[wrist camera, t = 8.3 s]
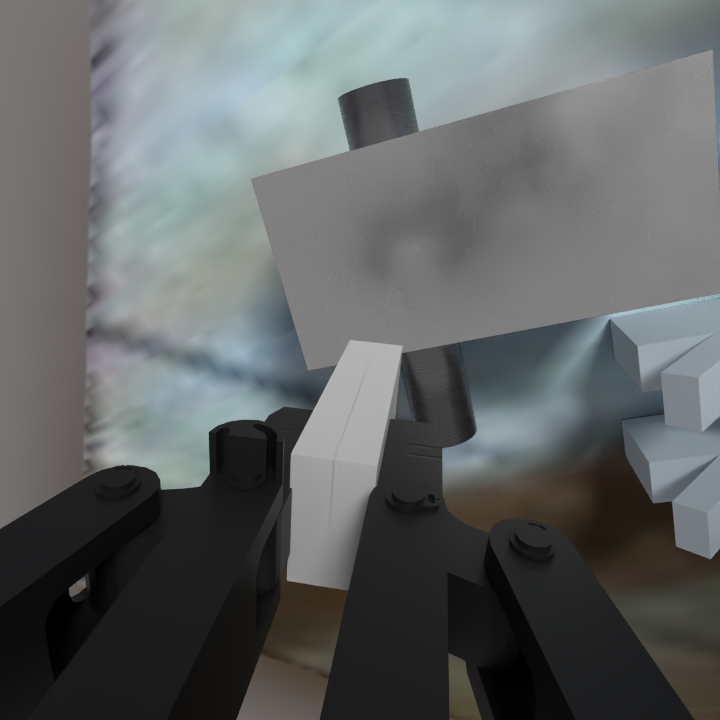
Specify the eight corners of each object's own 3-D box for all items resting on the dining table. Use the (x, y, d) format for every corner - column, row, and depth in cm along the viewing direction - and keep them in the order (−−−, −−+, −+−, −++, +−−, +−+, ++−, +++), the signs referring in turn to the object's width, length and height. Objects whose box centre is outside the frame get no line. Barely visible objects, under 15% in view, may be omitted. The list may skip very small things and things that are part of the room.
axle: (348, 102, 24) (328, 97, 22) (413, 82, 23) (401, 74, 21) (421, 422, 29) (412, 450, 26) (478, 416, 28) (475, 444, 25)
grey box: (316, 173, 31) (250, 178, 21) (616, 90, 27) (712, 49, 17) (351, 307, 33) (307, 370, 23) (632, 248, 30) (724, 292, 20)
